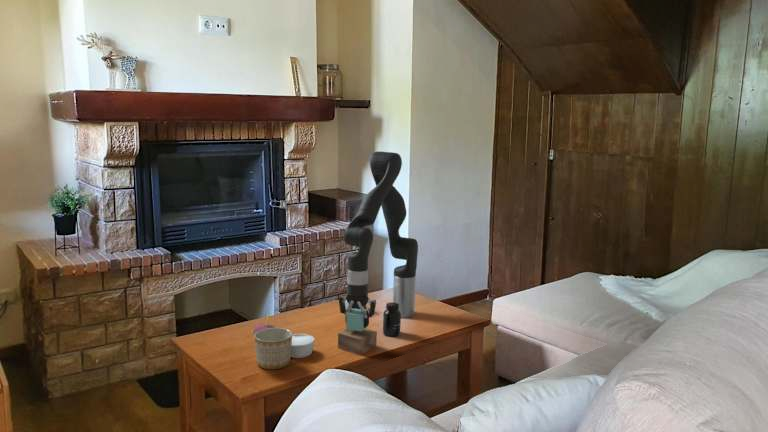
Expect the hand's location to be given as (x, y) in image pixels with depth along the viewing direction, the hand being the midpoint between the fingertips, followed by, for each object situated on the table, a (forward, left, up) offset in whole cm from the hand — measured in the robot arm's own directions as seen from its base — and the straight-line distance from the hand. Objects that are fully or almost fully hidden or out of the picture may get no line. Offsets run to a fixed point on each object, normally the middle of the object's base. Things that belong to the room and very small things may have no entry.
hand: (357, 325), depth 220 cm
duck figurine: (-37, -16, -8) cm, 41 cm away
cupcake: (+9, -33, -8) cm, 35 cm away
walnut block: (+1, 0, -8) cm, 8 cm away
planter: (+24, -21, -8) cm, 33 cm away
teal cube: (0, 0, -1) cm, 1 cm away
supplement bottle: (-17, +8, -8) cm, 20 cm away
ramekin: (+13, -17, -8) cm, 23 cm away
